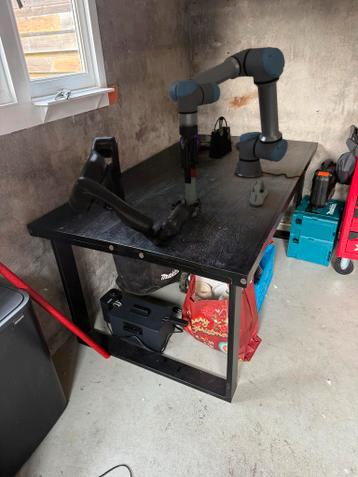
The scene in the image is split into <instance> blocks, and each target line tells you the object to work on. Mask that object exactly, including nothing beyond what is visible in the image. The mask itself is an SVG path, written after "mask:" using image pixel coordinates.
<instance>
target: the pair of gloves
mask: <svg viewBox="0 0 358 477" xmlns="http://www.w3.org/2000/svg"><path fill="white" fill-rule="evenodd" d="M210 140H211V135H207V134H206V135H205V138H204V140H201V145H200V148H199V149H198V150H200V149H204V148H210ZM231 144H232V145H233V144H234V141H233V140H231Z"/></svg>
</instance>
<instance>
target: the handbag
mask: <svg viewBox="0 0 358 477" xmlns="http://www.w3.org/2000/svg"><path fill="white" fill-rule="evenodd" d="M223 123H225V126H223ZM217 125H218V128H217ZM216 128H217V129H216ZM210 136H211V140H210V144H209V145H210V147H209V151H208V157H209V158H212V159H213V158H214V159H222V158H223V157H225V156H227V155H228V154H230V153H231V152H233V147H232V146H233V144H231V141H232V133H231V126H228V122H227V119H226V118H225V116H221V115H220V116H219V117H218V118H217V120H216V121H215V124H214V128H213V129H212V131H211V132H210Z"/></svg>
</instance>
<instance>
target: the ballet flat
mask: <svg viewBox="0 0 358 477" xmlns="http://www.w3.org/2000/svg"><path fill="white" fill-rule="evenodd" d="M268 194H269V189H268V186H267V183H266V182H265V181H264V180H262V179H257V180H255V181H254V182H253V184H252V187H251V190H250V196H249V204H250V205H251V206H252V207H260V206H261V205H263V203H264V201H265V198H266V196H267V195H268Z"/></svg>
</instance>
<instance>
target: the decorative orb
mask: <svg viewBox="0 0 358 477" xmlns="http://www.w3.org/2000/svg"><path fill="white" fill-rule="evenodd" d="M195 137H198V140H197V149H198V150H200V149H199V148H200V145H201V141H202V140H201V137H200V135H199V133H198V134H197V135H195ZM181 138H182V136H181V135H180V138H179V140H178V141H179V142H178V143H179V145H180V144H182V140H181Z"/></svg>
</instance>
